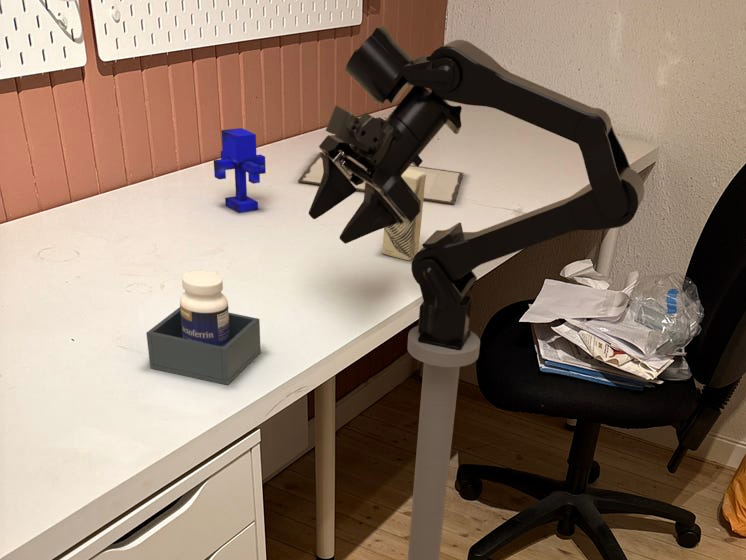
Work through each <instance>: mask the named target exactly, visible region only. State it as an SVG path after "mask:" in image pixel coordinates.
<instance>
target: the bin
mask: <svg viewBox="0 0 746 560" xmlns="http://www.w3.org/2000/svg"><path fill="white" fill-rule="evenodd" d="M260 323H261V322H260V318H257V317H252V316H247V315H243V314H238V313H233V312H229V331H230V341H229V342H228V343H227V344H226V345H225V346H224V347H221V346H217V345H212V344H207V343H202V342H198V341H193V340H188V339H184V338H183V335H182V323H181V312H180V306H179V307H178V308H177V309H175V310H174V311H173V312H171V313H170V314H169V315H168V316H166V317H165V318H163V320H161V321H160V322H158V323H157V324H156V325H154V326H153V327H152V328H151V329H149V330H148V331H147V332H146V342H147V350H148V359H149V367H150V369H152V370H157V371H161V372H166V373H170V374H174V375H175V374H176V375H180V376H185V377H189V378H194V379H198V380H203V381H208V382H213V383H217V384H221V385H227V386H228V385H230V384H231V383H232V382H233V381H234V379H236V378H237V377H238V376H239V375H240V374H241V373H242V372H243V371H244V370H245V369H246V368H247V367H248V366H249V365H250V364H251V363H252V362H253V361H254V360H255V359H256V358H258V356H259V355H260V354H261V327H260V325H261V324H260Z"/></svg>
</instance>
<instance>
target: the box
mask: <svg viewBox="0 0 746 560" xmlns="http://www.w3.org/2000/svg"><path fill="white" fill-rule="evenodd" d="M401 177H402V178H403V179H404V181H405V182H406V183H407V184H408V186H409V187H410V188H411V189H412V191H413V192H414V193H415V194H416V196H417V197H418V198H419V199H420V201H421V207H420V213H419V214H418V215H417V216H416V217H415V219H414V220H413V221H412V222H411V223H409V222H408V221H407V220H405V219H404V218H402V217H400V218H401V219H402V220H403V223H402V224H399V223H397V224H394V225H391V226H388V227H385V228H383V239H382V254H383V255H385V256H390V257H394V258H398V259H401V260H404V261H411V260H413V258H414V256H415V255H416V254H417V253H418V252H419V251H420V249H419V248H420V239H421V228H422V218H423V210H424V209H423V207H424V188H425V179H426V173H425V172H421V171H417V170H413V169H409V168H408V169H407V170H406V171H405V172H404V173H403V175H402V176H401Z"/></svg>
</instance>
